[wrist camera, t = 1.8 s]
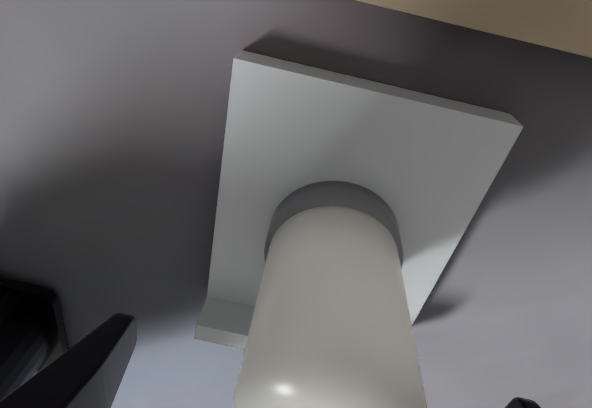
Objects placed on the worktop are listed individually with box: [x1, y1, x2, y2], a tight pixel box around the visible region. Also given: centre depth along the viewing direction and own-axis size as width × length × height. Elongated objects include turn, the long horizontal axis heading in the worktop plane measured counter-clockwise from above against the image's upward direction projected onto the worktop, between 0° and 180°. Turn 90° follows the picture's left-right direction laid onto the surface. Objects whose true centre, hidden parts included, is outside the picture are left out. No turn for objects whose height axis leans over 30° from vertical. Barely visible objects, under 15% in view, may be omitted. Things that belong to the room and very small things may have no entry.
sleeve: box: [234, 181, 427, 408], centre depth 11 cm, size 4×4×6 cm
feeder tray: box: [195, 50, 523, 349], centre depth 13 cm, size 10×8×2 cm
